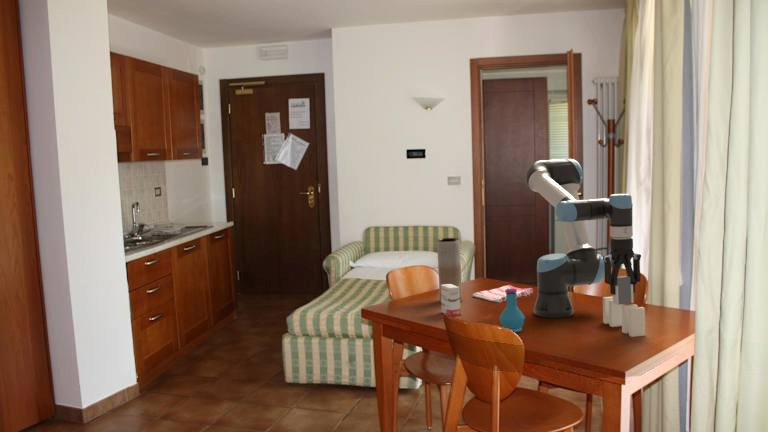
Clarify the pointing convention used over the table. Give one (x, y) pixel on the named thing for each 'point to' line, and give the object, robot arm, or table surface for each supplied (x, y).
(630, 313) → the domino tail
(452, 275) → the vase
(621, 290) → the domino
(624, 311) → the domino
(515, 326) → the perfume bottle
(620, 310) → the domino
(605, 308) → the domino head
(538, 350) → the table surface
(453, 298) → the ink box
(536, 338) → the table surface
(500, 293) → the dish towel
